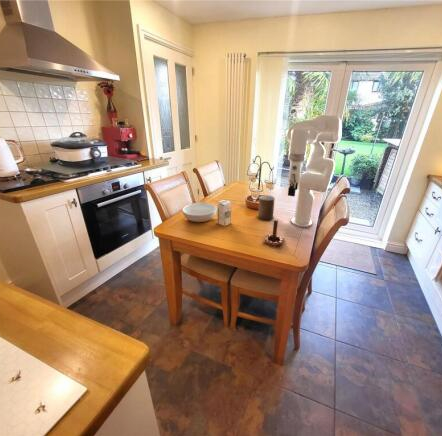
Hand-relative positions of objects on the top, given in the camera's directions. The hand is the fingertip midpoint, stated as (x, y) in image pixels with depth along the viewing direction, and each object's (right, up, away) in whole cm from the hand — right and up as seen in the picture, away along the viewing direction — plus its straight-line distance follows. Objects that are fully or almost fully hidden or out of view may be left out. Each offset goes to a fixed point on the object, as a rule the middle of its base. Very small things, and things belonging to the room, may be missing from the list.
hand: (292, 192), depth 114 cm
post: (-8, -25, +10) cm, 28 cm away
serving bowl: (-51, -13, +33) cm, 62 cm away
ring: (-8, -24, +8) cm, 26 cm away
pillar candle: (-10, -12, +38) cm, 41 cm away
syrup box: (-36, -16, +27) cm, 47 cm away
